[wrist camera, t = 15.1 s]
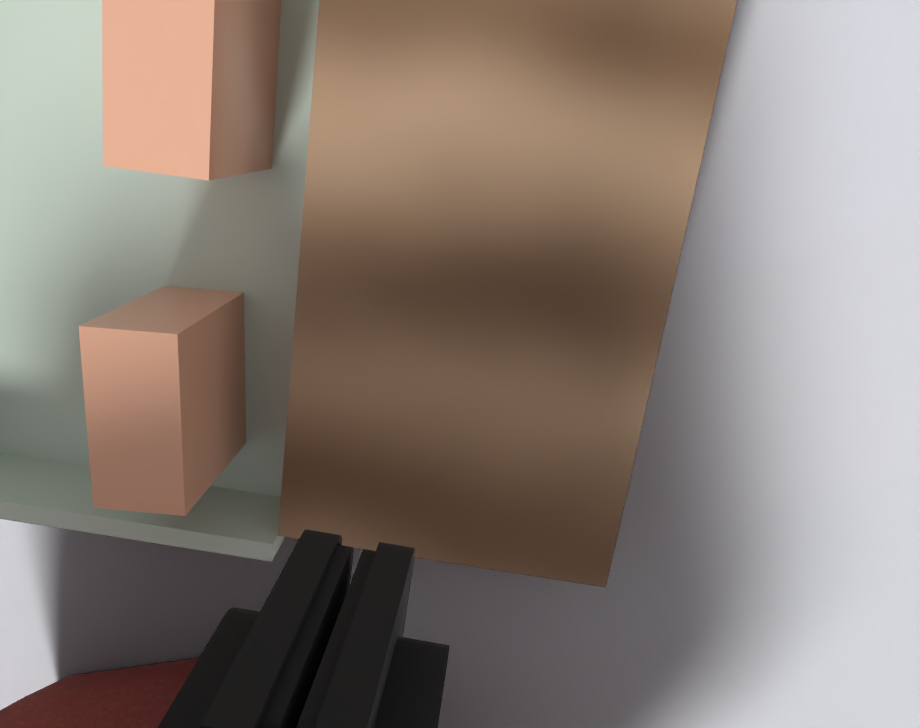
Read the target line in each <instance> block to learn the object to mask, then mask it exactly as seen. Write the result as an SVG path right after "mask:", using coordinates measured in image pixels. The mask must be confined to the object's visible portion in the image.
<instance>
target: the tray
mask: <svg viewBox="0 0 920 728" xmlns="http://www.w3.org/2000/svg"><path fill="white" fill-rule="evenodd" d="M318 10H319V0H281V17H280V35H279V52H278V70H277V88H276V106H275V123H274V141H273V159H272V169H267V170H261V171H256V172H251V173H246V174H241V175H235V176H230V177H225V178H220V179H215V180H210V181H208V180H200V179H193V178H186V177H179V176H172V175H164V174H157V173H150V172H143V171H136V170H129V169H121V168H114V167H107V166H103V74H102V0H0V519H5V520H12V521H18V522H24V523H30V524H37V525H43V526H49V527H56V528H62V529H68V530H75V531H81V532H87V533H93V534H100V535H106V536H112V537H119V538H125V539H131V540H138V541H144V542H150V543H156V544H163V545H169V546H175V547H182V548H188V549H194V550H201V551H207V552H213V553H219V554H226V555H232V556H238V557H245V558H251V559H257V560H264V561H270V562H272V560H273V558H274V557H275V555H276V553H277V551H278V549H279V548H280V546H281V544H282V542H283V540H284V538H285V537H282V536H278V527H279V514H280V501H281V488H282V475H283V462H284V449H285V436H286V423H287V410H288V397H289V384H290V371H291V359H292V346H293V333H294V320H295V307H296V294H297V281H298V268H299V255H300V242H301V229H302V216H303V204H304V191H305V178H306V165H307V152H308V139H309V126H310V113H311V100H312V87H313V74H314V61H315V48H316V36H317V23H318ZM163 286H170V287H183V288H195V289H208V290H221V291H233V292H244V333H245V394H246V444H245V445H244V446H243V447H242V449H241V450H240V451H239V452H238V453H237V455H236V456H235V457H234V458H233V459H232V461H231V462H230V463H229V464H228V465H227V467H226V468H225V469H224V470H223V471H222V473H221V474H220V475H219V476H218V477H217V479H216V480H215V481H214V482H213V483H212V485H211V486H210V487H209V488H208V489H207V490H206V492H205V493H204V494H203V495H202V496H201V498H200V499H199V500H198V501H197V502H196V504H195V505H194V506H193V507H192V508H191V510H190V511H189V512H188V513H187V514H186V516H179V515H168V514H158V513H147V512H136V511H125V510H114V509H103V508H93V499H92V487H91V475H90V462H89V450H88V438H87V425H86V413H85V400H84V388H83V376H82V363H81V351H80V339H79V326H80V325H82V324H84V323H86V322H88V321H90V320H93V319H95V318H97V317H99V316H101V315H103V314H105V313H108V312H110V311H112V310H114V309H116V308H118V307H120V306H122V305H125V304H127V303H129V302H131V301H133V300H135V299H137V298H140V297H142V296H144V295H146V294H148V293H150V292H152V291H154V290H157V289H159V288H161V287H163Z"/></svg>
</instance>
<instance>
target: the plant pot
mask: <svg viewBox="0 0 920 728" xmlns="http://www.w3.org/2000/svg"><path fill="white" fill-rule="evenodd" d="M198 659H199V658H196V659H188V660H181V661H174V662H167V663H160V664H152V665H145V666H136V667H129V668H123V669H116V670H109V671H102V672H94V673H86V674H78V675H72V676H69V677H65V678H63V679H61V680H59V681H57V682H55V683H53V684H51V685H49V686H47V687H45V688H43V689H41V690H38V691H36V692H34V693H32V694H30V695H28V696H26V697H24V698H22V699H20V700H18V701H17V702H15V703H13V704H11V705H9V706H8V707H6V708H4V709H2V710H0V728H157V727H158V726H159V724H160V722H161V721H162V719H163V717H164V716H165V714H166V712H167V711H168V709H169V707H170V706H171V704H172V702H173V701H174V699H175V697H176V696H177V694H178V692H179V691H180V689H181V687H182V686H183V684H184V682H185V681H186V679H187V677H188V676H189V674H190V672H191V671H192V669H193V667H194V666H195V664H196V662H197V661H198Z"/></svg>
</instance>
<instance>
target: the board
mask: <svg viewBox="0 0 920 728" xmlns="http://www.w3.org/2000/svg"><path fill="white" fill-rule="evenodd" d="M736 4H737V0H319V10H318V23H317V36H316V48H315V61H314V74H313V87H312V100H311V113H310V126H309V139H308V152H307V165H306V178H305V191H304V204H303V216H302V229H301V242H300V255H299V268H298V281H297V294H296V307H295V320H294V333H293V346H292V359H291V371H290V384H289V397H288V410H287V423H286V436H285V449H284V462H283V475H282V488H281V501H280V514H279V527H278V536H282V537H289V538H295V539H299V538H300V537H301V535H302V533H303V531H304V530H306V529H308V530H314V531H320V532H325V533H331V534H337V535H341V537H342V545H343V546H349V547H353V548H358V549H367V550H372V551H376V549H377V546H378V544H379V542H384V543H389V544H395V545H401V546H407V547H413V548H415V555H414V557H415V558H422V559H428V560H434V561H441V562H447V563H453V564H460V565H466V566H472V567H479V568H485V569H491V570H498V571H504V572H510V573H517V574H523V575H529V576H536V577H542V578H548V579H555V580H561V581H567V582H574V583H580V584H586V585H593V586H599V587H605V588H606V585H607V580H608V576H609V571H610V567H611V562H612V558H613V553H614V549H615V544H616V540H617V535H618V531H619V527H620V522H621V518H622V513H623V509H624V504H625V500H626V495H627V491H628V486H629V482H630V477H631V473H632V468H633V464H634V459H635V455H636V451H637V446H638V442H639V437H640V433H641V428H642V424H643V419H644V415H645V410H646V406H647V401H648V397H649V392H650V388H651V384H652V379H653V375H654V370H655V366H656V361H657V357H658V352H659V348H660V343H661V339H662V334H663V330H664V325H665V321H666V316H667V312H668V308H669V303H670V299H671V294H672V290H673V285H674V281H675V276H676V272H677V267H678V263H679V258H680V254H681V249H682V245H683V241H684V236H685V232H686V227H687V223H688V218H689V214H690V209H691V205H692V200H693V196H694V191H695V187H696V182H697V178H698V173H699V169H700V165H701V160H702V156H703V151H704V147H705V142H706V138H707V133H708V129H709V124H710V120H711V115H712V111H713V106H714V102H715V98H716V93H717V89H718V84H719V80H720V75H721V71H722V66H723V62H724V57H725V53H726V48H727V44H728V39H729V35H730V30H731V26H732V22H733V17H734V13H735V8H736Z"/></svg>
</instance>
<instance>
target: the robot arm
mask: <svg viewBox="0 0 920 728" xmlns="http://www.w3.org/2000/svg"><path fill="white" fill-rule="evenodd" d="M414 555H415V548H413V547H407V546H401V545H395V544H389V543H384V542H379V544H378V546H377V549H376V551H372V550H367V549H364V550H363V552H362V554H361V557H360V559H359V562H358V565H357V567H356V570H355V573H354V575H353V578H352V581H351V583H350V579H351V570H352V562H353V547H349V546H343V545H342V537H341V535H337V534H331V533H325V532H320V531H314V530H308V529H306V530H304V531H303V533H302V535H301V537H300V538H299V540H298V542H297V544H296V546H295V548H294V550H293V552H292V553H291V555H290V557H289V559H288V561H287V563H286V565H285V567H284V568H283V570H282V572H281V574H280V576H279V578H278V580H277V582H276V583H275V585H274V587H273V589H272V591H271V593H270V595H269V597H268V598H267V600H266V602H265V604H264V606H263V608H262V610H261V612H255V611H250V610H244V609H238V608H232V609H230V610H229V611H228V612H227V613H226V615H225V616H224V617H223V619H222V621H221V622H220V624H219V626H218V627H217V629H216V631H215V632H214V634H213V636H212V637H211V639H210V641H209V642H208V644H207V646H206V647H205V649H204V651H203V652H202V654H201V656H200V657H199V659H198V661H197V662H196V664H195V666H194V667H193V669H192V671H191V672H190V674H189V676H188V677H187V679H186V681H185V682H184V684H183V686H182V687H181V689H180V691H179V692H178V694H177V696H176V697H175V699H174V701H173V702H172V704H171V706H170V707H169V709H168V711H167V712H166V714H165V716H164V717H163V719H162V721H161V722H160V724H159V726H158V727H157V728H437V727H438V720H439V713H440V707H441V700H442V693H443V687H444V680H445V673H446V666H447V660H448V653H449V646H448V645H443V644H437V643H431V642H426V641H420V640H414V639H409V638H403V632H404V625H405V618H406V611H407V604H408V597H409V590H410V583H411V576H412V569H413V562H414Z"/></svg>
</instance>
